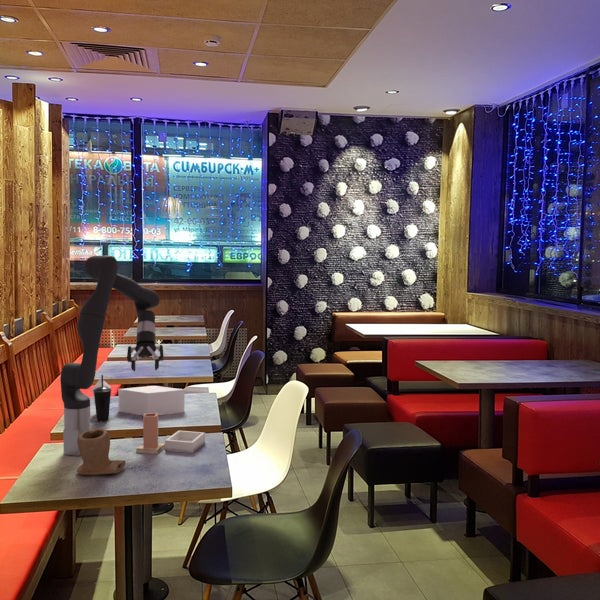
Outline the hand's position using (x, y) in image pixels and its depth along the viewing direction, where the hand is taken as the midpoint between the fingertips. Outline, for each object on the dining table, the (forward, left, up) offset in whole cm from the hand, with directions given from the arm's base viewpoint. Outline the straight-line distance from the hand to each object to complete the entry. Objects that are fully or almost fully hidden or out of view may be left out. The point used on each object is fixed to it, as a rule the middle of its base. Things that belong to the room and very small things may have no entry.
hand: (145, 369), depth 259 cm
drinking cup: (+17, +28, -27) cm, 43 cm away
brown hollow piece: (-41, -3, -28) cm, 50 cm away
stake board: (-14, -9, -27) cm, 32 cm away
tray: (-7, -20, -27) cm, 35 cm away
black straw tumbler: (+27, +34, -27) cm, 51 cm away
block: (+36, +14, -28) cm, 47 cm away
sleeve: (-14, -9, -26) cm, 31 cm away
